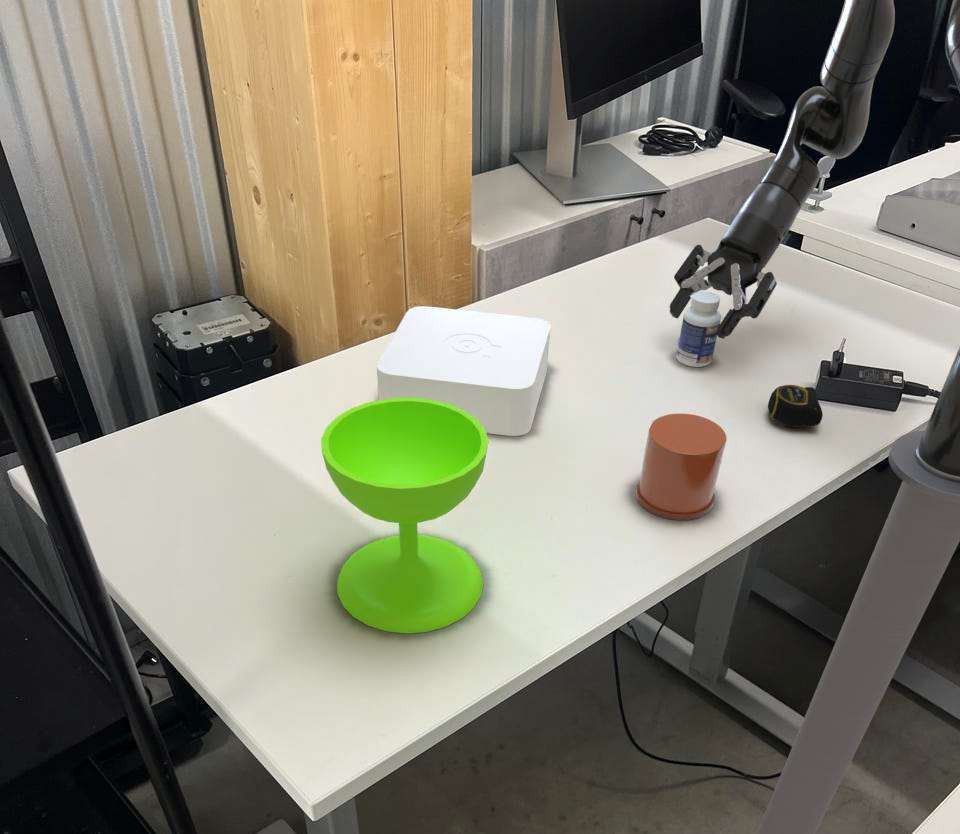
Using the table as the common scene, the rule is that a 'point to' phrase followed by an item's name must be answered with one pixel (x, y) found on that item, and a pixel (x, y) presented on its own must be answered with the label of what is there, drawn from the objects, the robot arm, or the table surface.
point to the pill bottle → (699, 330)
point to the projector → (469, 364)
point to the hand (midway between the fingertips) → (695, 325)
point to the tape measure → (795, 406)
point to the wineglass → (407, 509)
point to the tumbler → (680, 466)
